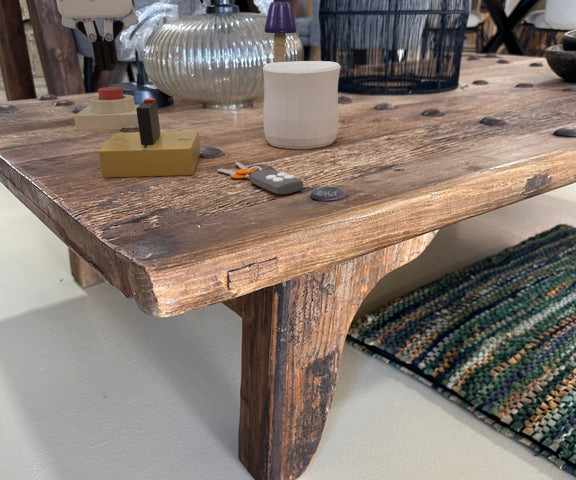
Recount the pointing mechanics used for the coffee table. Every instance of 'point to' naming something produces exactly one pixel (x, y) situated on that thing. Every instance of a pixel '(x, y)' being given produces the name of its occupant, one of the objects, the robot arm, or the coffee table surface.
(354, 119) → the coffee table surface
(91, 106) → the box
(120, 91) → the release button
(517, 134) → the coffee table surface
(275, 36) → the toy lamp
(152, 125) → the lock turn
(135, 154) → the plate
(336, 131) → the cup
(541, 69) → the coffee table surface
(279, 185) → the key chain
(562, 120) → the coffee table surface
